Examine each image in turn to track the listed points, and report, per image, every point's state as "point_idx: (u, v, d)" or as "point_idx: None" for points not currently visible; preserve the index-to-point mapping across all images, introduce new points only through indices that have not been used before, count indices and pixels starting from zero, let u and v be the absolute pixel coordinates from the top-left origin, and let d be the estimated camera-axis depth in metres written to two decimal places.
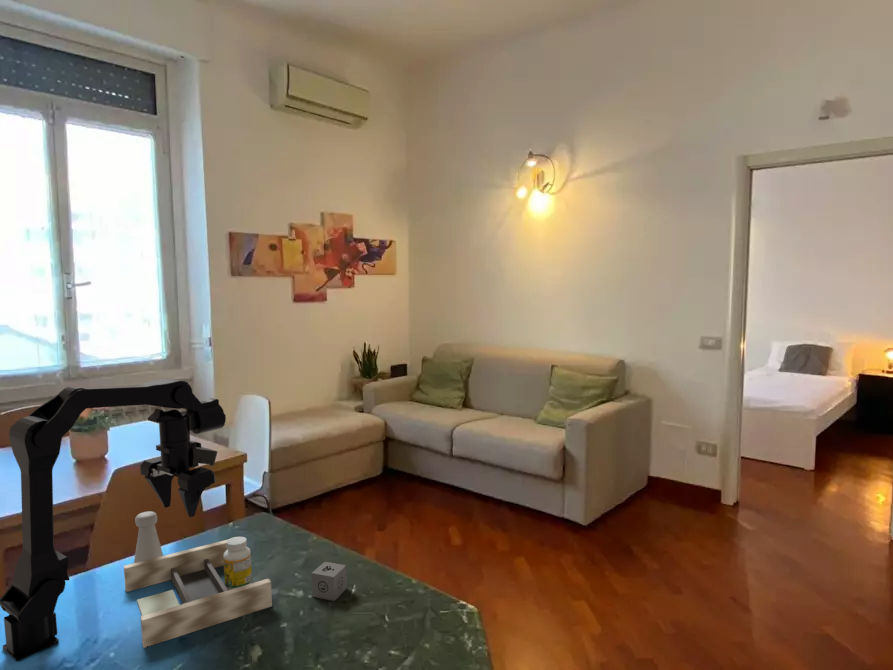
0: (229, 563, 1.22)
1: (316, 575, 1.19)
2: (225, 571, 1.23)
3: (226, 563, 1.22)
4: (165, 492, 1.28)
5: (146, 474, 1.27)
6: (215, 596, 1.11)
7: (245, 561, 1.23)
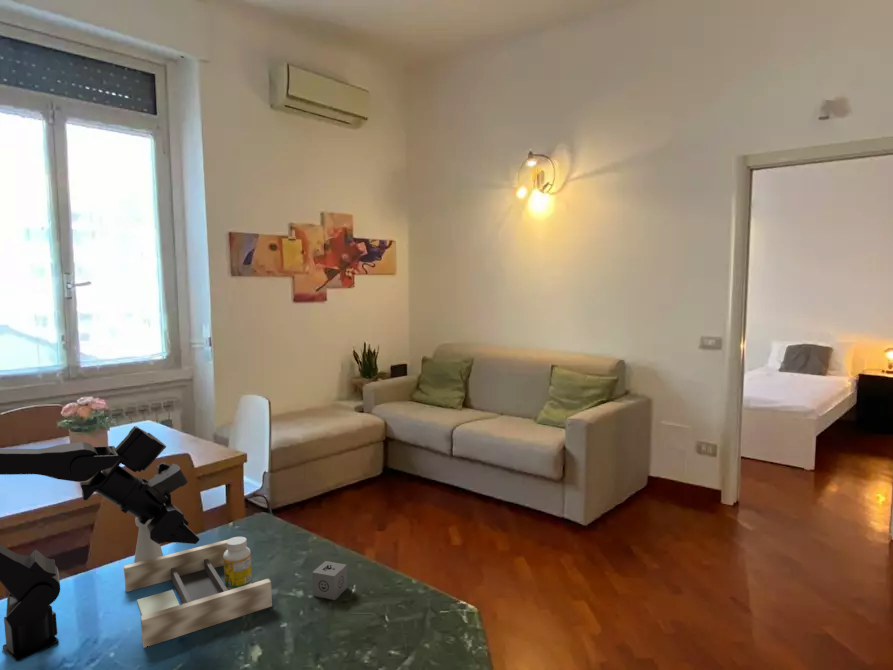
0: (229, 563, 1.22)
1: (317, 574, 1.20)
2: (225, 571, 1.23)
3: (226, 563, 1.22)
4: None
5: None
6: (215, 596, 1.11)
7: (245, 561, 1.23)
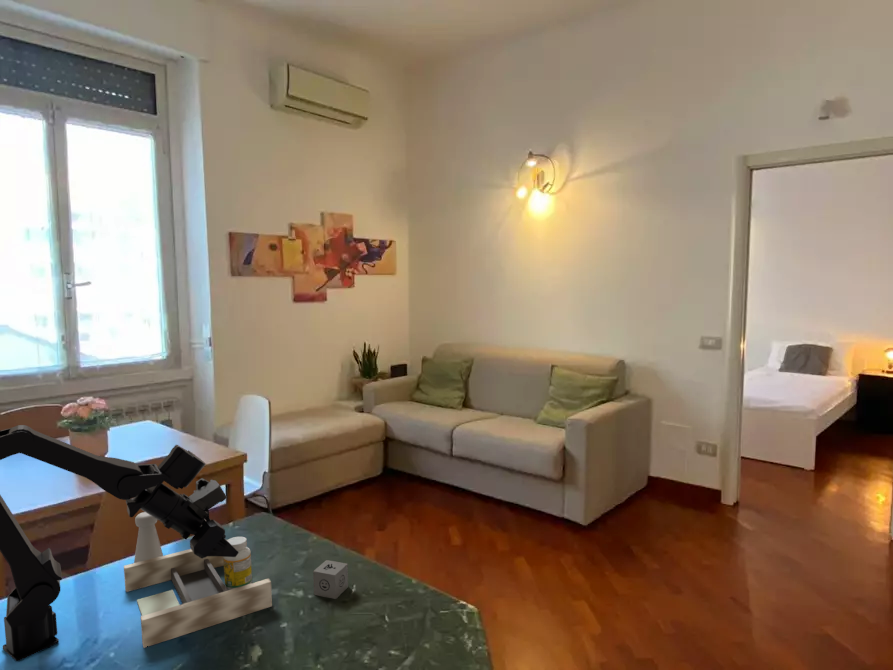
0: (229, 563, 1.22)
1: (317, 573, 1.20)
2: (225, 571, 1.23)
3: (226, 563, 1.22)
4: None
5: None
6: (215, 596, 1.11)
7: (245, 561, 1.23)
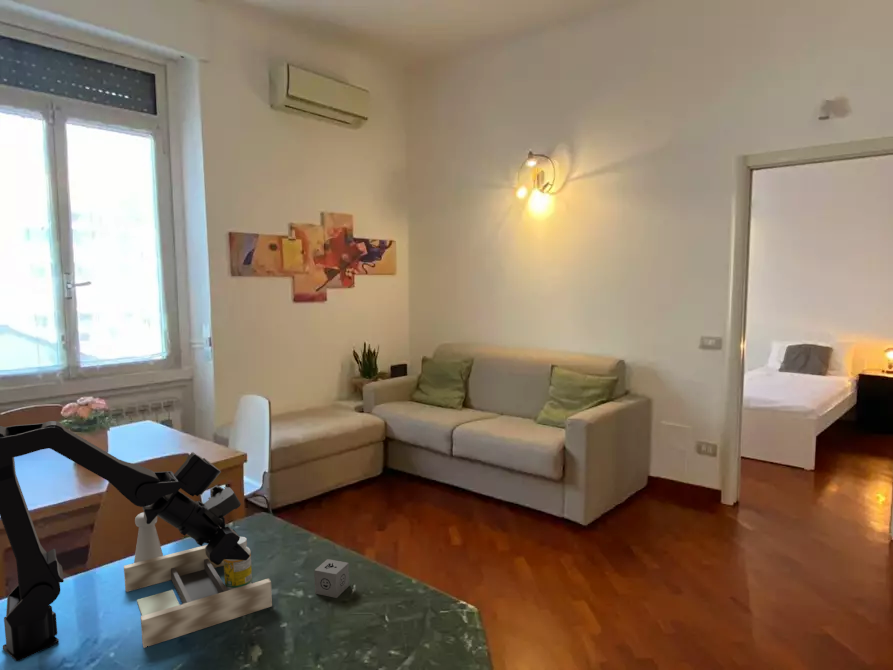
0: (229, 563, 1.22)
1: (319, 572, 1.20)
2: (225, 571, 1.23)
3: (226, 563, 1.22)
4: None
5: None
6: (215, 596, 1.11)
7: (246, 561, 1.23)
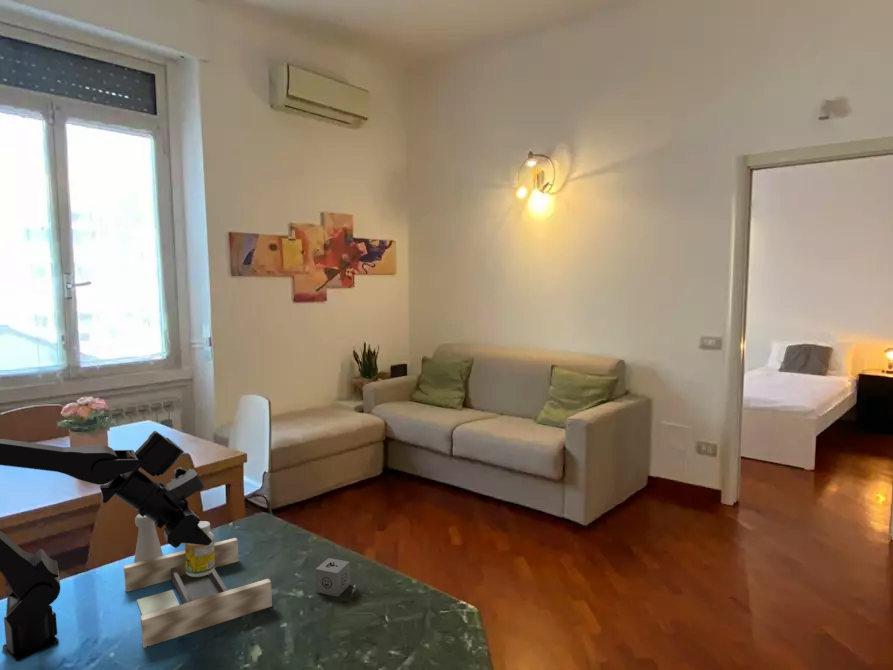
0: (191, 547, 1.17)
1: (320, 571, 1.21)
2: (186, 556, 1.18)
3: (188, 548, 1.17)
4: None
5: None
6: (215, 596, 1.11)
7: (208, 546, 1.18)
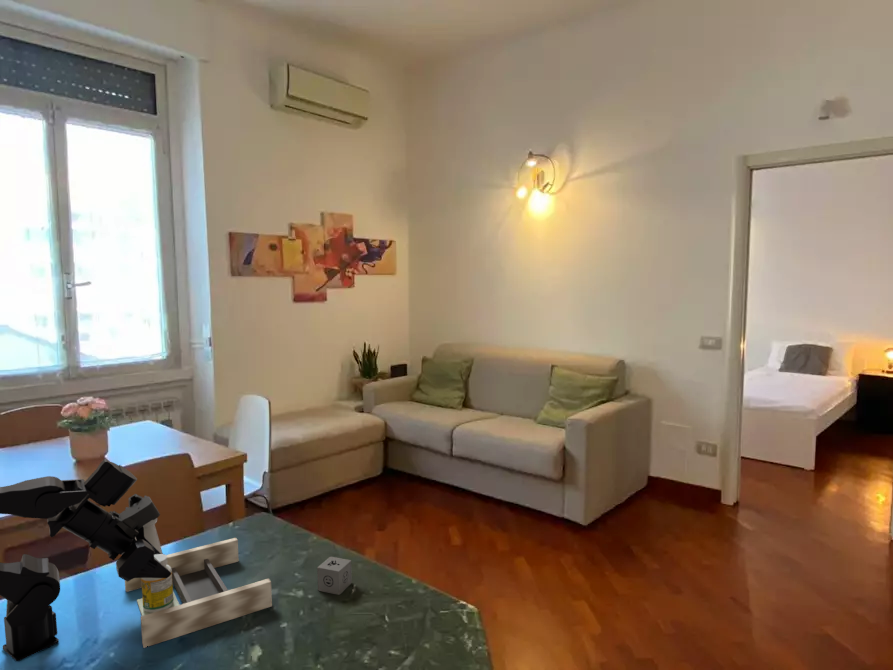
0: (146, 583, 1.13)
1: (321, 569, 1.21)
2: (142, 591, 1.14)
3: (143, 583, 1.13)
4: None
5: None
6: (215, 596, 1.11)
7: (165, 580, 1.14)
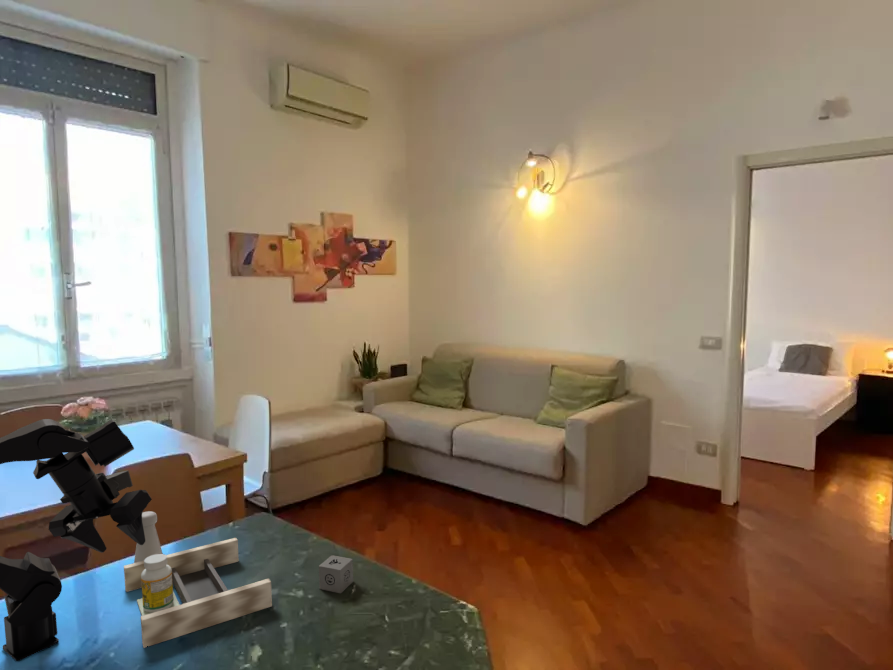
0: (146, 583, 1.13)
1: (323, 568, 1.22)
2: (142, 591, 1.14)
3: (143, 583, 1.13)
4: (94, 538, 1.13)
5: (62, 533, 1.09)
6: (215, 596, 1.11)
7: (164, 580, 1.14)
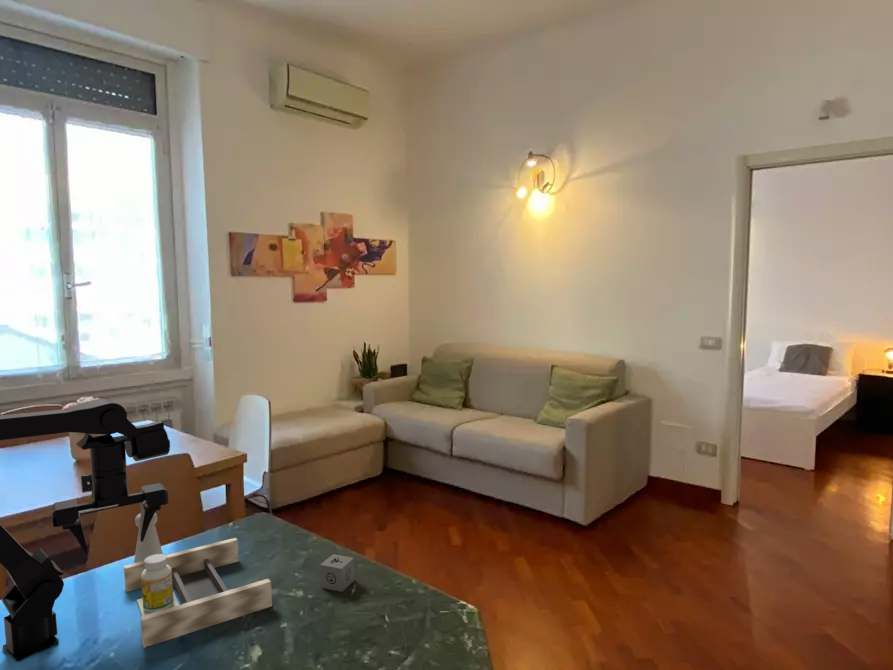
0: (146, 583, 1.13)
1: (324, 567, 1.23)
2: (142, 592, 1.14)
3: (143, 583, 1.13)
4: None
5: (72, 521, 1.07)
6: (215, 596, 1.11)
7: (165, 580, 1.14)
